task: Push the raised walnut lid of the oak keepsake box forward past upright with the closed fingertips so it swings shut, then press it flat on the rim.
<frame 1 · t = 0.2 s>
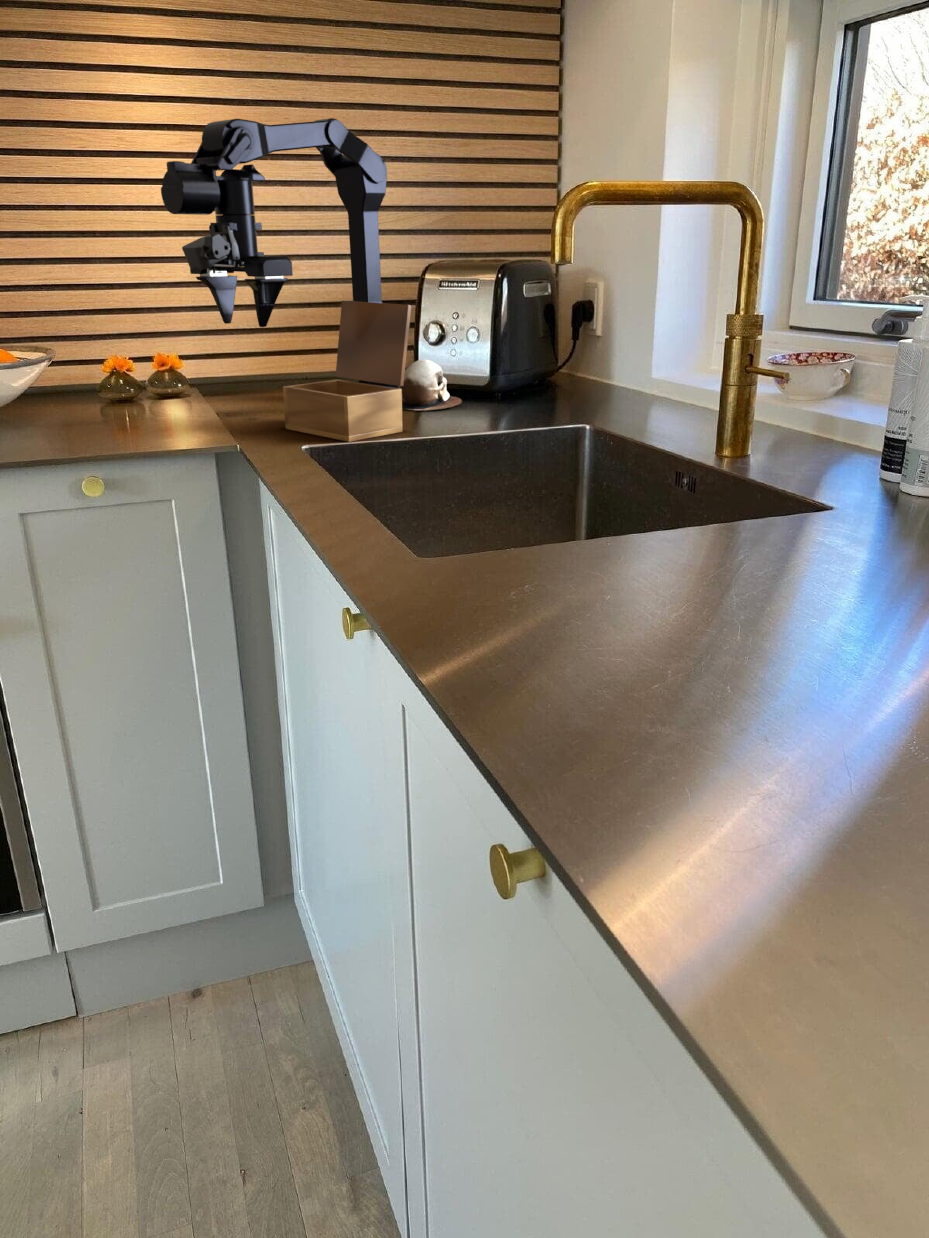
hand: (244, 325, 145), 14 cm above the countertop, tool pointing down, fingers open, 9 cm apart
lid: (371, 342, 141), point 12 cm above the countertop, hinge at 100.0°
chest: (343, 430, 142), on the countertop
skull: (427, 406, 163), on the countertop
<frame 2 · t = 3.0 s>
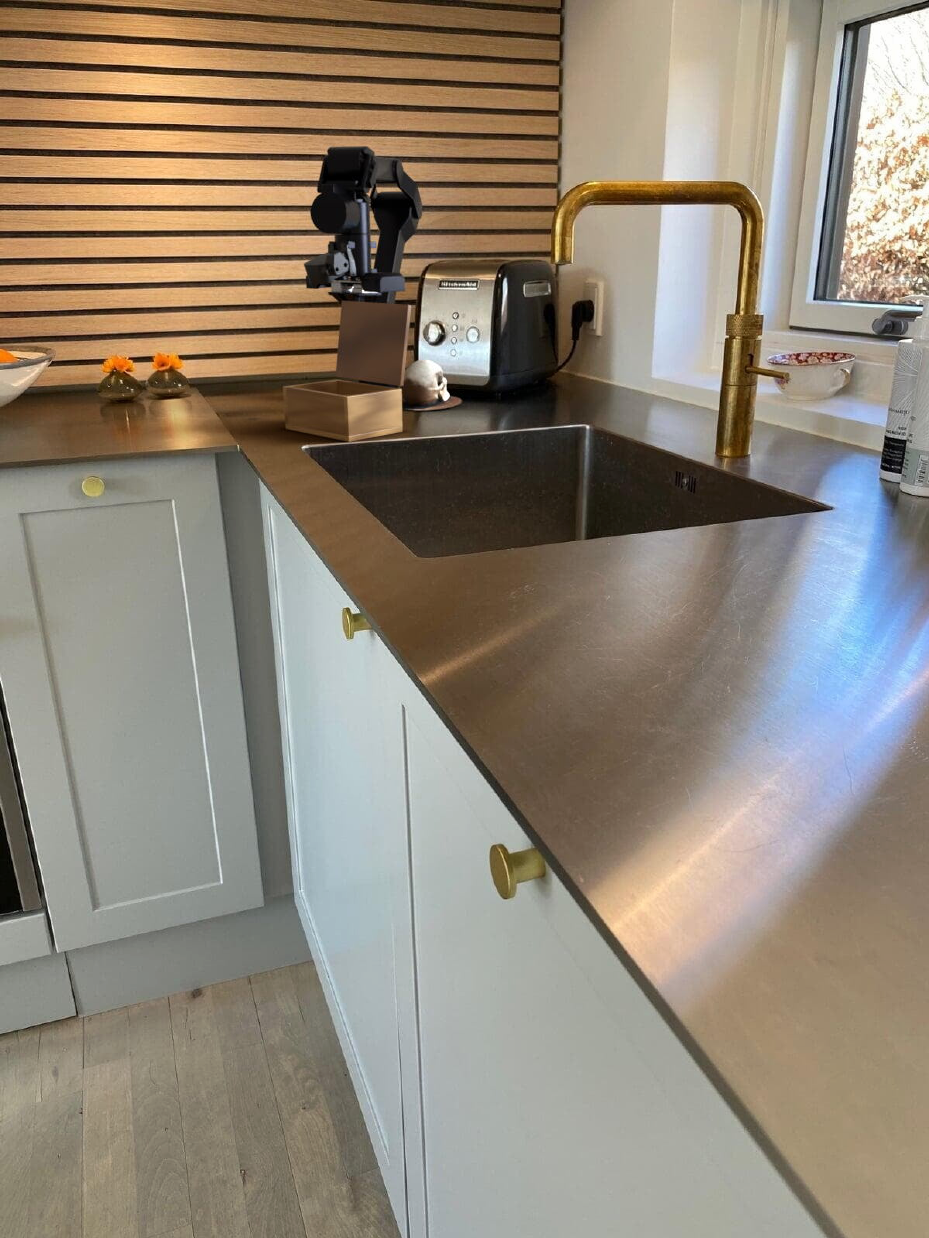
hand: (356, 336, 155), 12 cm above the countertop, tool pointing down, fingers closed
nothing on the countertop moved.
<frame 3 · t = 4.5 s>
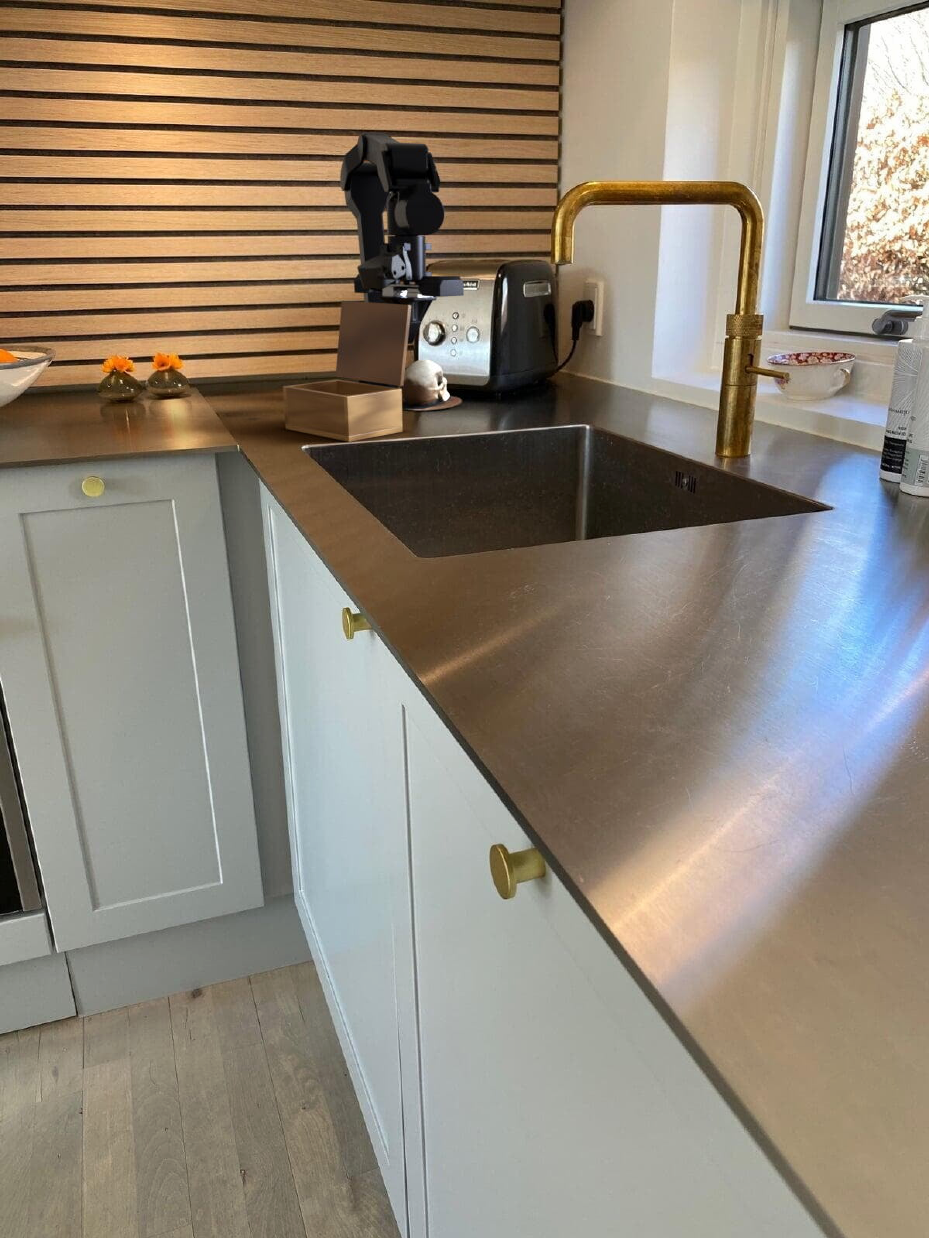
hand: (408, 343, 147), 12 cm above the countertop, tool pointing down, fingers closed
nothing on the countertop moved.
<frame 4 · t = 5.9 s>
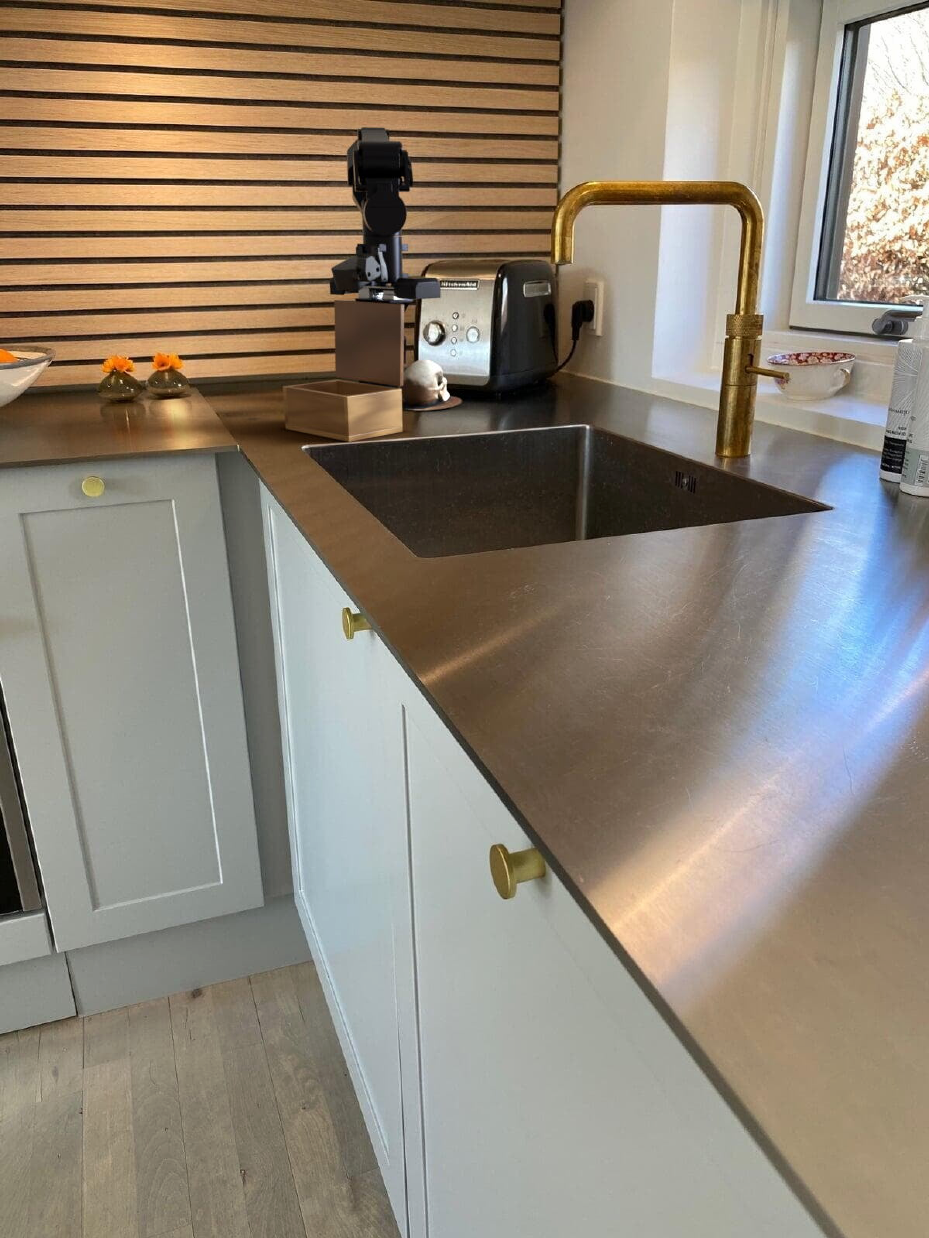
hand: (385, 346, 143), 12 cm above the countertop, tool pointing down, fingers closed, pressing on lid
lid: (368, 342, 141), point 12 cm above the countertop, hinge at 92.6°, touching gripper
everything else where it was.
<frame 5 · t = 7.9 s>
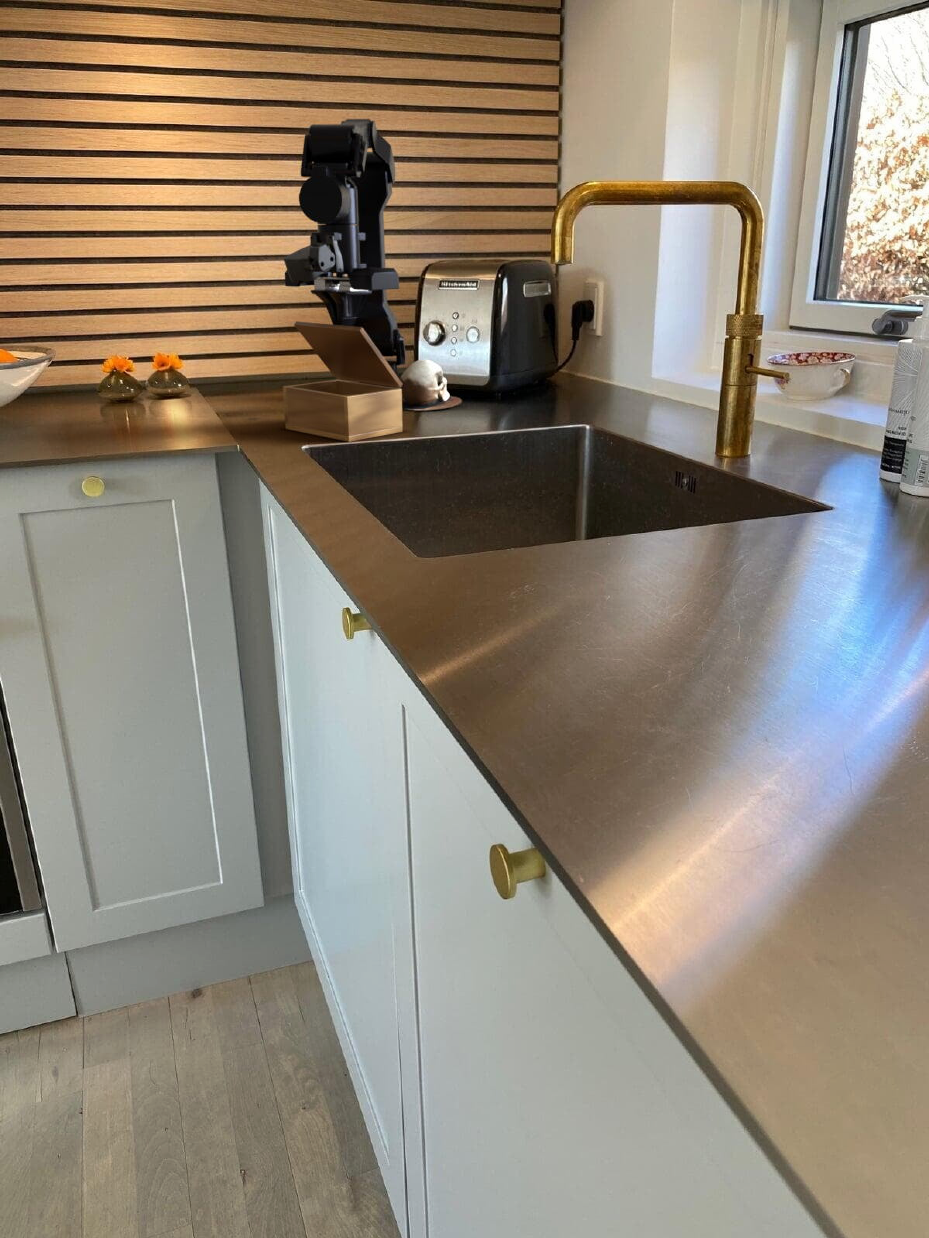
hand: (343, 340, 137), 13 cm above the countertop, tool pointing down, fingers closed
lid: (348, 354, 138), point 11 cm above the countertop, hinge at 48.3°, touching gripper
everything else where it was.
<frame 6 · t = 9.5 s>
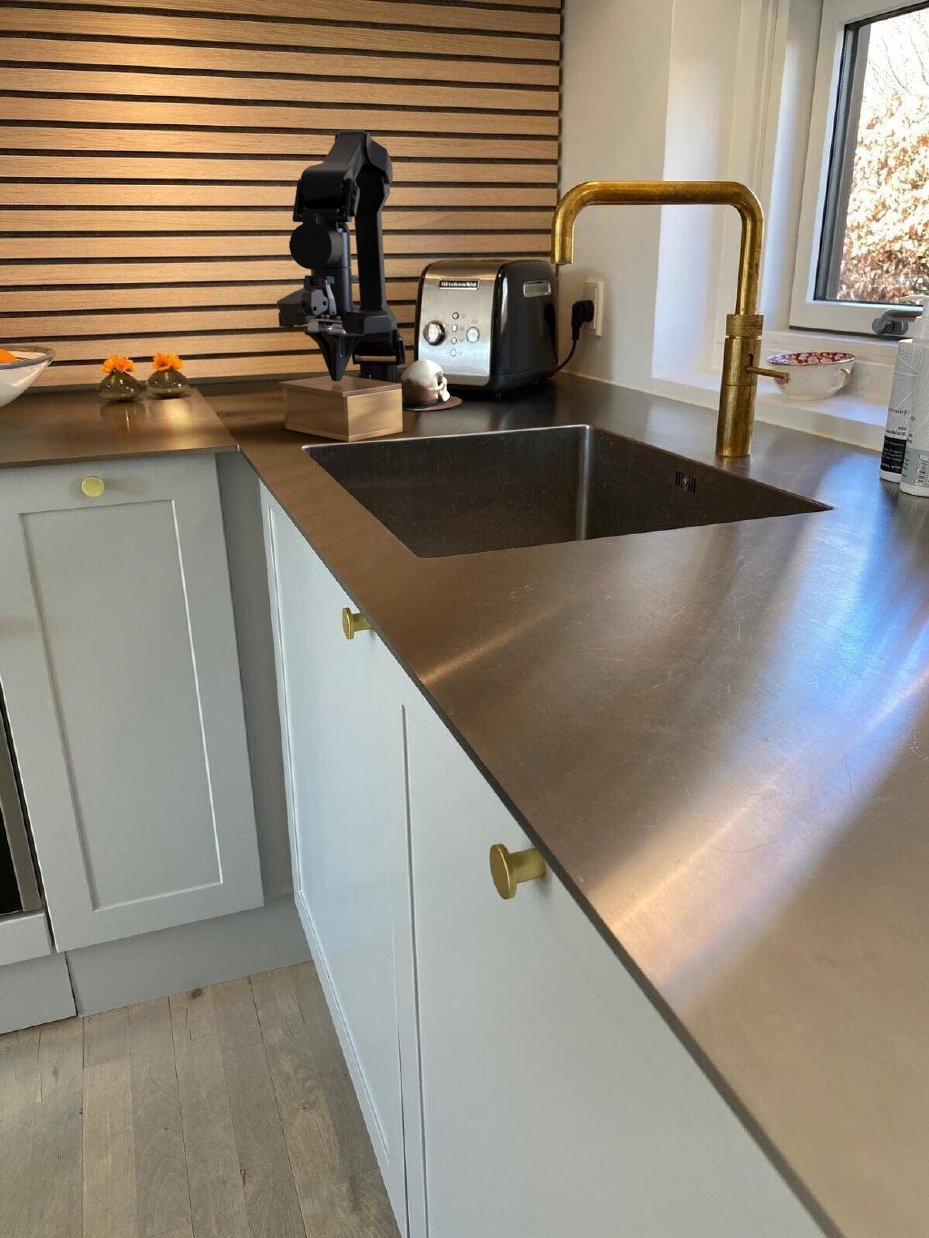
hand: (336, 381, 138), 7 cm above the countertop, tool pointing down, fingers closed
lid: (339, 385, 139), point 7 cm above the countertop, hinge at -0.3°
everything else where it was.
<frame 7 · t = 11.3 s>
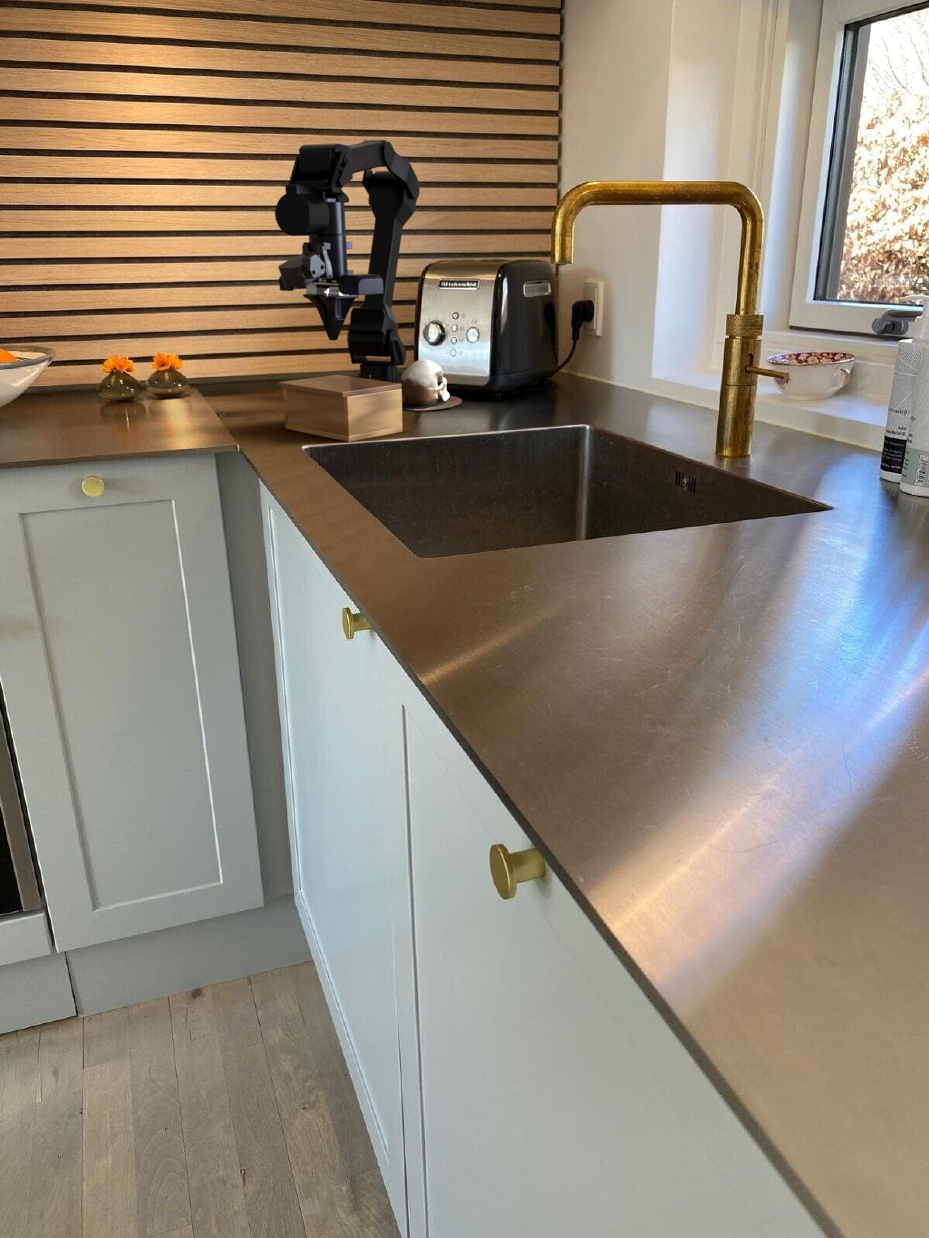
hand: (333, 340, 151), 12 cm above the countertop, tool pointing down, fingers closed
nothing on the countertop moved.
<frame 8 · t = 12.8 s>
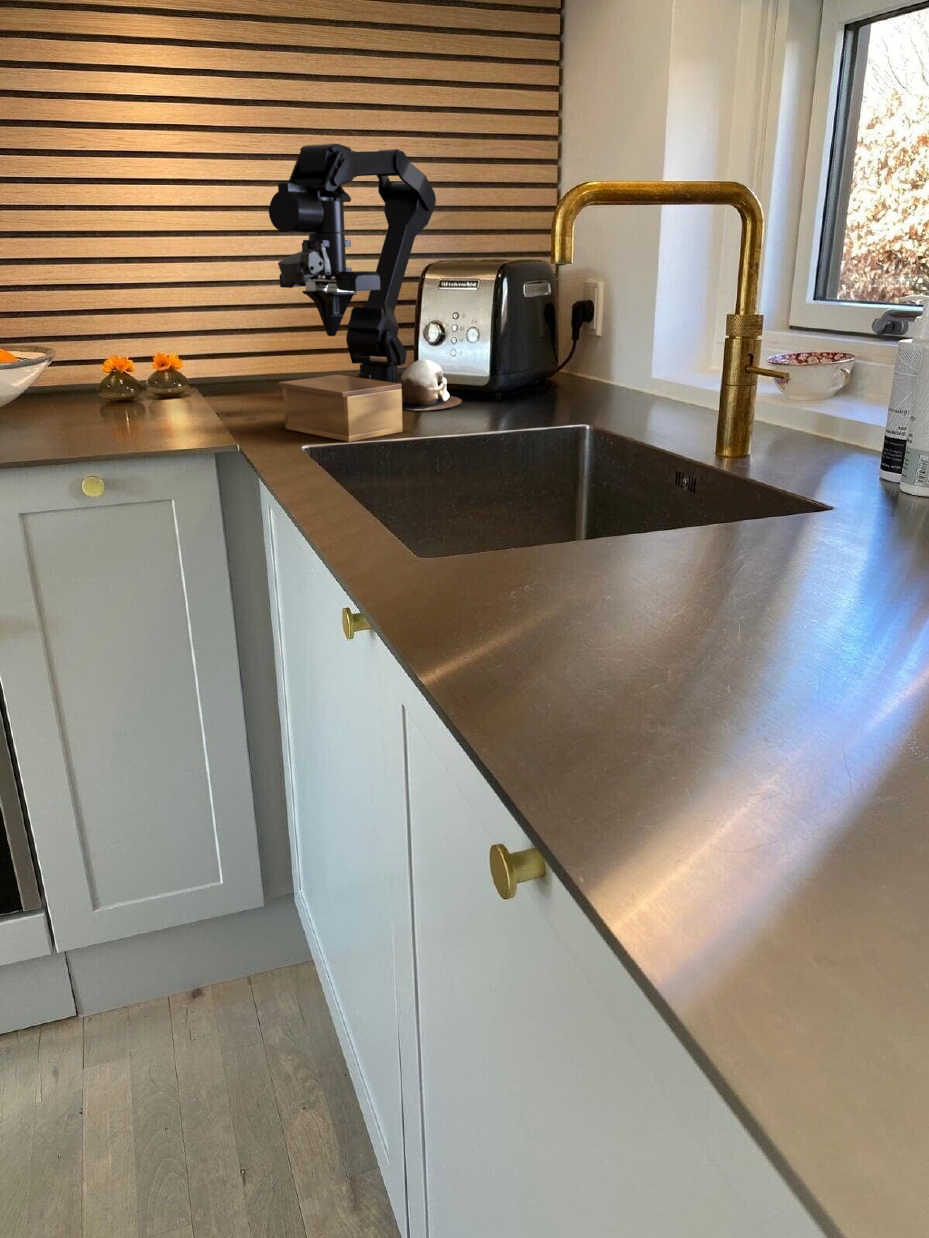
hand: (331, 336, 154), 12 cm above the countertop, tool pointing down, fingers closed
nothing on the countertop moved.
at the end: lid at +0° (first picture: +100°); the gripper is holding nothing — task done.
